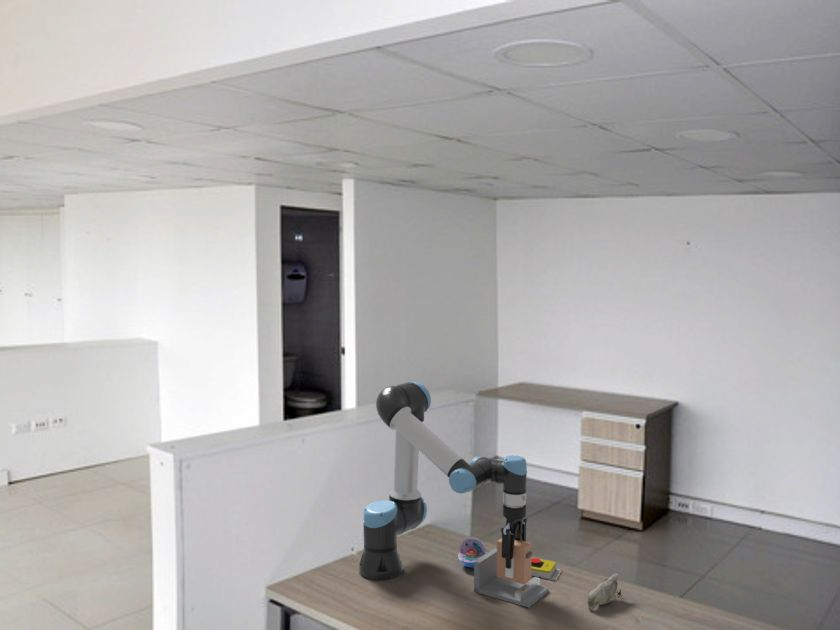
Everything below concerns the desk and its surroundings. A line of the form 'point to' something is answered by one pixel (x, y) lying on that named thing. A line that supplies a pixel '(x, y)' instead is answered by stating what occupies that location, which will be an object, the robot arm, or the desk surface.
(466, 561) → the cell model
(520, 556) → the cabinet block
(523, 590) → the strip
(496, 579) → the gray bracket stand
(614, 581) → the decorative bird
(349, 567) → the desk surface
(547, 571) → the emergency button
